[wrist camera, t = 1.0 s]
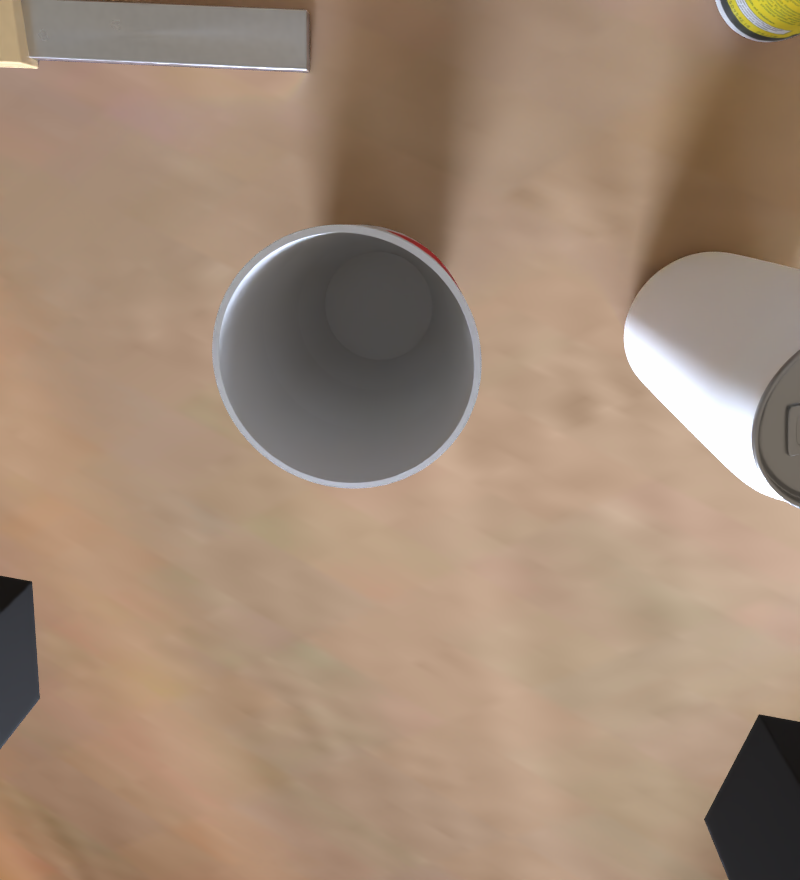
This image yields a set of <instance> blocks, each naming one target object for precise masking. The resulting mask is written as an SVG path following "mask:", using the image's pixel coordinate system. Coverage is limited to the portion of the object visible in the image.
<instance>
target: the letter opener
mask: <svg viewBox="0 0 800 880" xmlns="http://www.w3.org/2000/svg"><path fill="white" fill-rule="evenodd" d="M38 60H45V61H66V62H88V63H109V64H131V65H152V66H174V67H195V68H217V69H238V70H260V71H281V72H303V73H309V72H310V15H309V13H308V11H307V10H303V9H279V8H256V7H232V6H208V5H185V4H161V3H138V2H114V1H91V0H0V67H13V68H34V69H37V68H38Z"/></svg>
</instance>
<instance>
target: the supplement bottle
mask: <svg viewBox="0 0 800 880" xmlns="http://www.w3.org/2000/svg"><path fill="white" fill-rule="evenodd" d="M715 1H716V4H717V7H718V10H719V12H720V14H721V16H722V17H723V19H724V20H725V22H726V23H727V24H728V25H729V26H730V27H731V28H732V29H733V30H734V31H735V32H736V33H738V34H740V35H741V36H743V37H745V38H747V39H750V40H754V41H758V42H776V41H782V40H785V39H789V38H792V37H794V36H797V35H799V34H800V0H715Z"/></svg>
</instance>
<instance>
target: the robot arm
mask: <svg viewBox="0 0 800 880" xmlns="http://www.w3.org/2000/svg"><path fill="white" fill-rule="evenodd" d="M39 699H40V694H39V679H38V664H37V649H36V634H35V619H34V604H33V589H32V582H31V581H26V580H20V579H15V578H9V577H4V576H0V749H1V747H2V746H3V745H4V744H5V742H6V741H7V740H8V738H9V737H10V736H11V735H12V733H13V732H14V731H15V729H16V728H17V727H18V726H19V724H20V723H21V722H22V721H23V719H24V718H25V717H26V715H27V714H28V713H29V712H30V710H31V709H32V708H33V706H34V705H35V704H36V703H37V701H38V700H39ZM704 820H705V822H706V825H707V827H708V830H709V832H710V835H711V837H712V840H713V842H714V845H715V847H716V849H717V852H718V854H719V857H720V859H721V862H722V864H723V867H724V869H725V872H726V874H727V877H728V879H729V880H800V722H797V721H792V720H786V719H781V718H775V717H770V716H765V715H759V716H758V718H757V720H756V721H755V723H754V725H753V727H752V729H751V731H750V733H749V735H748V737H747V739H746V741H745V742H744V744H743V746H742V748H741V750H740V752H739V754H738V756H737V758H736V760H735V762H734V763H733V765H732V767H731V769H730V771H729V773H728V775H727V777H726V779H725V781H724V783H723V784H722V786H721V788H720V790H719V792H718V794H717V796H716V798H715V800H714V802H713V804H712V805H711V807H710V809H709V811H708V813H707V815H706V817H705V819H704Z"/></svg>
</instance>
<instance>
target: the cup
mask: <svg viewBox="0 0 800 880" xmlns="http://www.w3.org/2000/svg"><path fill="white" fill-rule="evenodd" d="M212 356H213V367H214V373H215V378H216V382H217V386H218V389H219V392H220V395H221V398H222V400H223V403H224V405H225V407H226V409H227V411H228V413H229V415H230V417H231V418H232V420H233V422H234V423H235V425H236V426H237V428H238V429H239V430H240V432H241V433H242V434H243V436H244V437H245V438H246V439H247V440H248V441H249V442H250V444H251V445H252V446H253V447H254V448H255V449H256V450H258V451H259V452H260V453H261V454H262V455H263V456H265V457H266V458H267V459H268V460H270V461H271V462H272V463H274V464H275V465H277V466H279V467H280V468H282V469H283V470H285V471H287V472H289V473H291V474H293V475H295V476H297V477H300V478H302V479H305V480H308V481H311V482H314V483H317V484H321V485H326V486H331V487H338V488H369V487H376V486H382V485H386V484H390V483H393V482H396V481H399V480H402V479H404V478H407V477H409V476H411V475H413V474H415V473H417V472H419V471H420V470H422V469H424V468H425V467H427V466H428V465H430V464H431V463H432V462H434V461H435V460H436V459H437V458H439V457H440V456H441V455H442V454H443V453H444V452H445V451H446V450H447V449H448V448H449V447H450V446H451V445H452V443H453V442H454V441H455V440H456V438H457V437H458V436H459V434H460V433H461V431H462V430H463V428H464V426H465V425H466V423H467V421H468V419H469V417H470V415H471V412H472V410H473V407H474V405H475V402H476V398H477V395H478V390H479V385H480V379H481V348H480V341H479V336H478V332H477V328H476V324H475V321H474V318H473V316H472V313H471V311H470V309H469V306H468V304H467V302H466V300H465V299H464V297H463V295H462V293H461V291H460V289H459V288H458V286H457V284H456V282H455V280H454V279H453V277H452V275H451V274H450V272H449V271H448V270H447V268H446V267H445V266H444V264H443V263H442V262H441V261H440V260H439V259H438V258H437V257H436V256H435V255H434V254H433V253H432V252H431V251H430V250H428V249H427V248H426V247H425V246H423V245H422V244H420V243H419V242H417V241H416V240H414V239H412V238H410V237H408V236H406V235H404V234H402V233H400V232H397V231H394V230H391V229H388V228H384V227H379V226H372V225H326V226H318V227H313V228H308V229H304V230H301V231H298V232H295V233H292V234H290V235H287V236H285V237H283V238H281V239H279V240H277V241H275V242H274V243H272V244H270V245H269V246H267V247H266V248H264V249H263V250H262V251H260V252H259V253H258V254H257V255H255V256H254V257H253V258H252V259H251V260H250V261H249V262H248V263H247V264H246V265H245V266H244V267H243V268H242V269H241V271H240V272H239V273H238V274H237V276H236V277H235V279H234V280H233V281H232V283H231V285H230V286H229V288H228V290H227V292H226V294H225V296H224V298H223V300H222V303H221V305H220V308H219V311H218V314H217V317H216V322H215V327H214V333H213V344H212Z"/></svg>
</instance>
